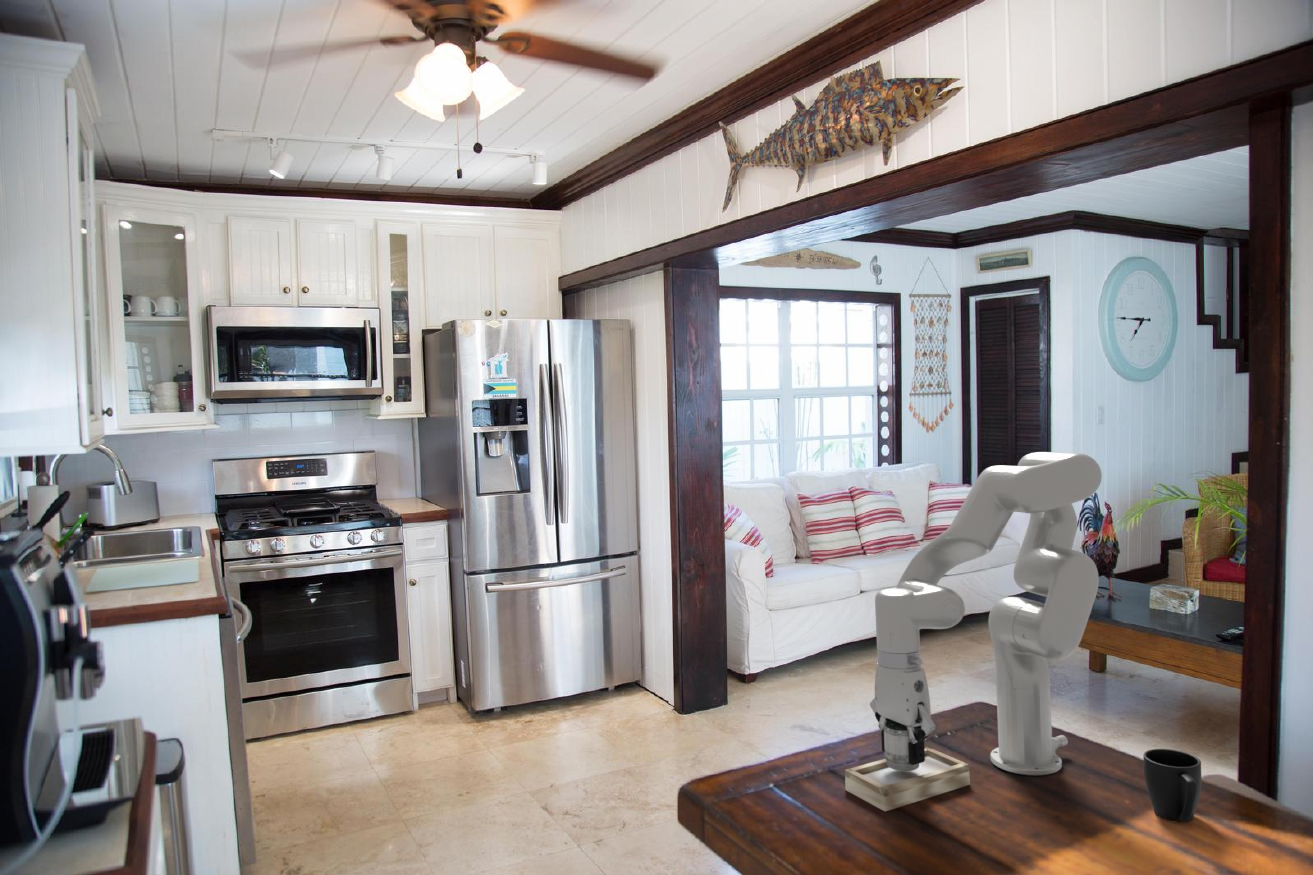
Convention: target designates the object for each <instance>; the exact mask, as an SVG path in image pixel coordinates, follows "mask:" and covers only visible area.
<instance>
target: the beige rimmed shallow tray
mask: <svg viewBox="0 0 1313 875" xmlns="http://www.w3.org/2000/svg"><path fill="white" fill-rule="evenodd" d="M924 749H925V761H924V762H922V763H919V767H918V768H917V769H915V770H912V771H898V770H894V769H892V768H890V767H888V765H887V761H886V758H883V759H879V760H876V761H872V762H868V763H865V764H862V765H859V766H858V765H857V766H854V767H850V768H847V769H845V770H844V778H845V781H844V783H845V790H846V791H847V792H848V793H850V794H852V795H854V796H856V797H857V798H859V799H861V800H863V801H864V802H867V803H869V804H870V805H872V806H873V807H876V808H878V809H880V810H882V812H887V811H891V810H895V809H898V808H901V807H904V806H906V805H907V806H908V805H910V804H913V803H917V802H920V801H923V800H927V799H929V798H933V797H936V796H938V795H939V796H940V795H941V794H945V793H948V792H951V791H954V790H957V789H960V788H964V787H967V786H970V785H971V782H970V781H971V779H970V778H971V777H970V764H969V763H966V762H964V761H962V760H960V759H957V758H955V757H952V756H950V755H947V754H945V753H943V752H940V751H938V750H936V749H934V748H932V747H929V746H924Z"/></svg>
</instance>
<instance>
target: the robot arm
mask: <svg viewBox="0 0 1313 875" xmlns="http://www.w3.org/2000/svg"><path fill="white" fill-rule="evenodd" d="M1102 478H1103V476H1102V470H1101V467H1100V464H1099V463H1098V462H1097V461H1096V460H1095V459H1094V458H1093V457H1091V456H1090V455H1087V454H1084V453H1079V452H1078V453H1076V452H1056V451H1055V452H1053V451H1052V452H1051V451H1037V452H1030V453H1028V454H1025V455H1024V456H1022V457H1021V459H1019V461H1018V463H1017V465H1007V464H1006V465H1005V464H1003V465H1000V464H999V465H992V466H989V467H986V468H985V469H983V471H982V472H980V474H979V475H978V477H977V479H976V480H975V482H974V483H973V486H972V487H971V489H970V491H969V493H968V494H967V496H966V498H965V499H964V501H963V503H962V505H961V506H960V507H959V510H958V511H957V513H956V515H955V517H954V519H953V521H952V522H951V524H950V525H949V526H948V528H947V529H945V530H944V531H943V532H942V533H940V534H939V535H937V536H936V537H935V538H934V539H932V540H931V541H930V542H929V543H928V544H925V546H924V547H923V548H921V549H920V550H919V551H918V552H917V553H916V554H915V555H914V556H913V558H912V559H911V560H910V562H909V563H908V565H907V567H906V568H905V570H904V572H902V574H901V577H900V579H899V580H898V583H897V585H896V587H894V588H893V587H891V588H886V589H885V588H884V589H881V590H879V591H878V592H877V593H876V594H875V597H874V609H875V629H876V631H875V632H876V633H875V634H876V653H877V655H876V656H877V657H876V658H877V663H876V667H875V674H874V698H873V699H872V700H871V701H870V703H869V706H870V709H872V712H873V714H874V717H875V719H876V721H877V723H878V726H877V727H878V729H880V732H881V733H880V735H881V736H880V737H881V752H883V753H885V746H884V725H885V723H886V722H888V721H890V720H892V721H895V722H897V723H900V724H902V725H905V726H906V727H907V730H908V733H909V737H910V740H911V742H908V749H909V763H910V764H911V765H915V764H919V763H922V762H924V761H925V749H924V748H925V741H927V739H928V737H930V735H931V734H932V732H934V730H935V729H936V724H935V723H934V721H933V720H932V710H931V700H930V691H929V685H928V680H927V676H926V671H925V669H924V668H923V667H922V666H921V665H922V664H923V660H922V658H921V642H920V640H921V639H920V630H924V629H927V630H928V629H929V630H931V629H932V630H946V629H950V628H953V627H954V626H956V625H957V624H959V623H960V622H961V621H962V619H963V617H964V615H965V613H966V612H965V610H966V605H965V602H964V599H963V598H962V597H961V595H960V594H958V592H956V591H955V590H953V589H950V588H949V587H946V586H942V585H938V584H939V582H940V580H942V578H943V577H944V576H945V575H946V574H948V573H949V571H951V570H953V569H955V567H957V566H959V565H961V564H964V563H967V562H970V561H973V560H975V559H978V558H979V559H980V558H981V557H983V556H986V555H988V554H989V553H991V552H992V550H993V549H994V548H995V546H996V544H997V542H998V540H999V538H1000V537H1001V534H1002V533H1003V531H1004V529H1005V527H1006V526H1007V524H1008V522H1009V520H1010V519H1011V517H1012V516H1013V514H1014V513H1024V514H1030V515H1029V522H1028V524H1027V528H1026V532H1025V534H1024V537H1023V540H1022V544H1021V546H1020V549H1019V551H1018V555H1017V557H1016V561H1015V565H1014V569H1013V579H1014V582H1015V583H1016V585H1017V586H1018V588H1020V589H1022V590H1023V591H1025V592H1028V593H1031V594H1035V595H1039V596H1042V597H1046V599H1045V603H1044V602H1041V601H1038V600H1034V599H1033V600H1032V599H1029V598H1025V597H1021V596H1008V597H1004V598H1001V599H999V600H998V601H997V602H995V603H994V605H993V606H992V607H991V609H990V611H989V614H988V628H989V629H988V630H989V634H990V635H989V636H990V638H991V643H992V647H993V648H992V649H993V653H994V662H995V663H994V664H995V682H996V684H995V685H996V708H997V709H996V712H997V738H998V741H997V742H998V747H996V748H994V749H992V751H991V752H990V762H991V763H992V764H993V765H995V766H996V767H997V768H998V769H1001V770H1004V771H1007V772H1009V773H1014V774H1018V775H1025V776H1045V775H1051V774H1054V773H1055V774H1056V773H1058V772H1059V771H1060V770H1062V767H1063V761H1062V759H1061V757H1060V756H1059V755H1058V754H1056V750H1058V748H1060V747H1061V748H1062V747H1065V746H1066V745H1068V744H1069V740H1068V738H1067V737H1066V735H1063V734H1061V735H1057V736H1054V737H1053V728H1052V726H1053V725H1052V703H1051V701H1052V700H1051V675H1050V668H1049V663H1048V660H1053V661H1054V660H1055V661H1061V660H1065V659H1067V658H1069V657H1070V656H1072V655H1073V654H1074V653H1075V651H1076V650H1077V649H1078V648H1079V646H1080V643H1081V641H1082V638H1083V636H1084V633H1085V630H1086V628H1087V624H1088V622H1089V618H1090V615H1091V612H1092V610H1093V606H1094V603H1095V600H1096V597H1097V594H1098V590H1099V583H1100V582H1099V580H1100V579H1099V571H1098V568H1097V565H1096V563H1095V562H1094V560H1093V559H1092V558H1091V557H1090V556H1089V555H1087V554H1086V553H1084V552H1081V551H1078V550H1074V549H1073V546H1074V541H1075V538H1076V535H1077V531H1078V518H1077V513H1076V510H1075V508H1074V506H1073V504H1075V503H1078V502H1081V501H1083V500H1087V499H1088V498H1090V497H1092V495H1094V494H1095V493H1096V492H1097V490H1099V488H1100V485H1101V483H1102ZM1047 659H1048V660H1047ZM914 727H917V730H918V732H917V733H916V734H915V730H914Z"/></svg>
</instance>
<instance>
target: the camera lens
mask: <svg viewBox="0 0 1313 875" xmlns="http://www.w3.org/2000/svg"><path fill="white" fill-rule="evenodd" d="M914 730H915V734H916V733H917V732H918V730H917V727H914ZM908 742H911V740H910V737H909V733H908V730H907V727H906V726H905V725H902V724H900V723H897V722H895V721H892V720H890V721H888V722H886V723H885V725H884V746H885V752H884V757H885V758H884V759H886V761H887V765H888V767H890V768H892V769H894V770H898V771H912V770H915V769H917V768H918V767H919V764H915V765H911V764H910V763H909V749H908Z"/></svg>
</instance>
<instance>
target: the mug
mask: <svg viewBox="0 0 1313 875" xmlns="http://www.w3.org/2000/svg"><path fill="white" fill-rule="evenodd" d="M1142 759H1143V775H1144V781H1145V786H1146V790H1147V794H1148V796H1149V799H1150V803H1151V806H1152V809H1153V812H1154V814H1155V815H1156V816H1157V817H1159V818H1160V819H1162V820H1164V821H1168V822H1172V823H1173V822H1174V823H1183V824H1184V823H1189V822H1191V821H1193V820H1194V819H1195V818H1194V816H1195V813H1196V810H1197V808H1198V804H1199V800H1200V796H1201V791H1202V790H1201V789H1202V761H1201V760H1200V758H1198V757H1197V756H1195V755H1194V754H1191V753H1189V752H1186V751H1182V750H1176V749H1168V748H1154V749H1148V750H1147V751H1145V752H1144V753H1143V758H1142Z"/></svg>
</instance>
